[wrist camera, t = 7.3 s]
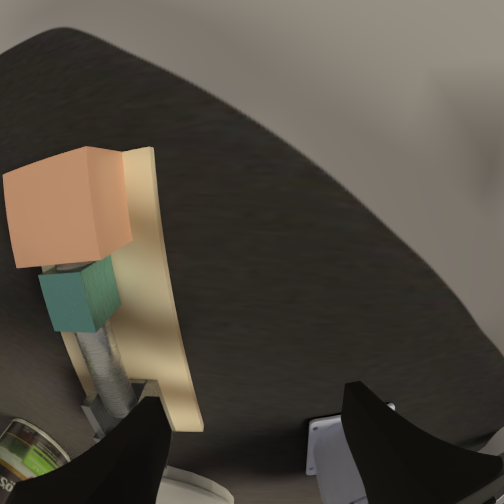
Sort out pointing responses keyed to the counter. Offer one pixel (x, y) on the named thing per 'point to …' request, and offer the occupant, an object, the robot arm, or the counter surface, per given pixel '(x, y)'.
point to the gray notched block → (107, 423)
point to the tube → (91, 325)
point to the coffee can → (26, 455)
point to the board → (146, 302)
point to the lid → (190, 489)
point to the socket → (67, 208)
